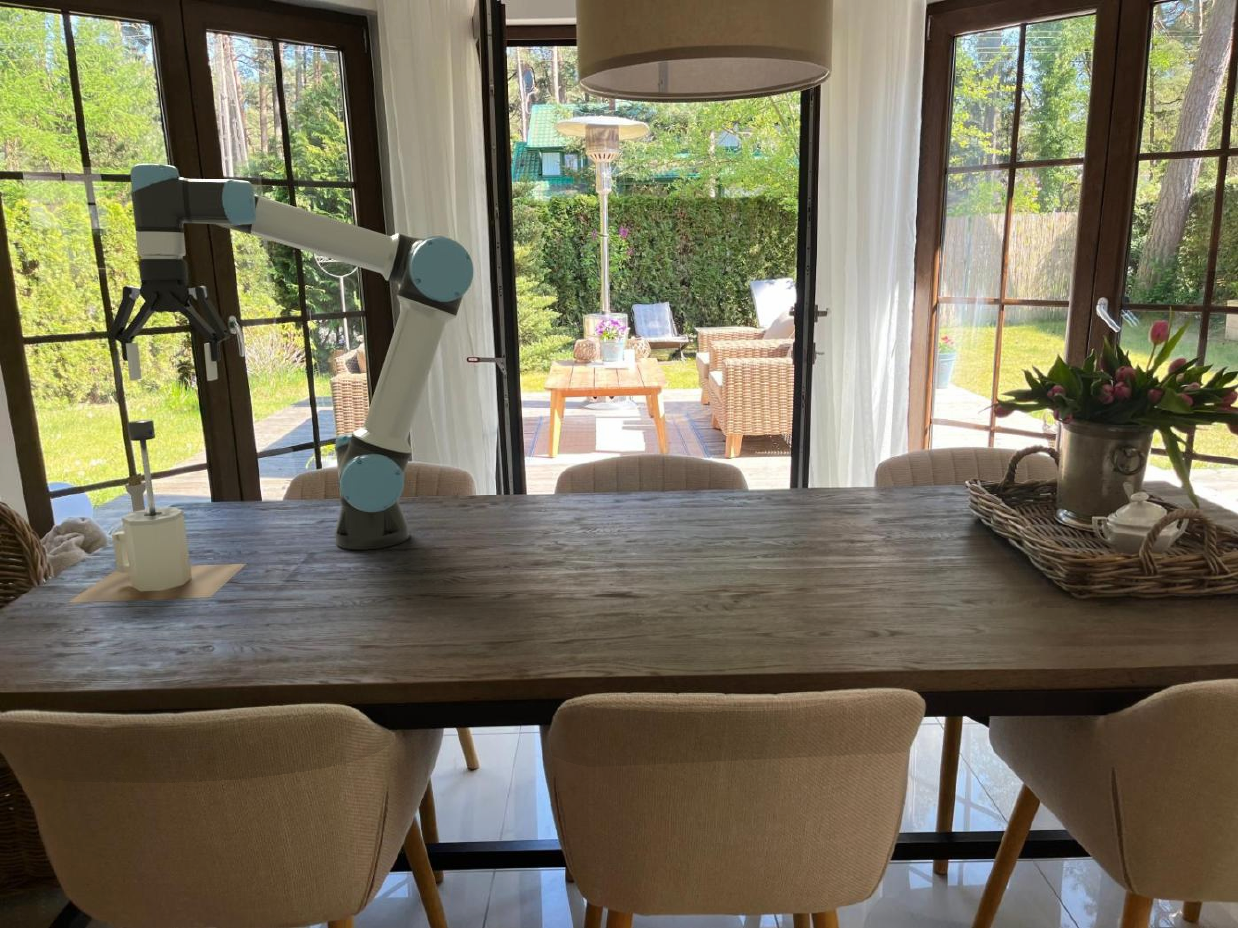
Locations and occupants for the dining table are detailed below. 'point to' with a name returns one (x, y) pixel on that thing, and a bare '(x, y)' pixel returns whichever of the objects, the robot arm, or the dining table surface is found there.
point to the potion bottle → (136, 492)
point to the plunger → (144, 453)
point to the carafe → (153, 549)
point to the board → (199, 586)
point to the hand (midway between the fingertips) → (174, 379)
